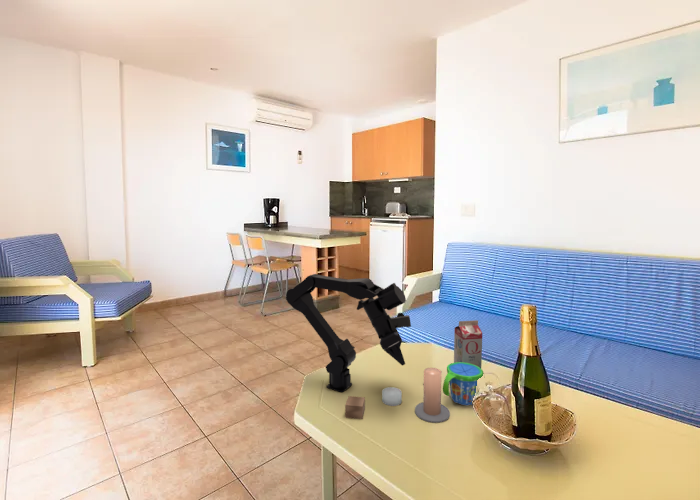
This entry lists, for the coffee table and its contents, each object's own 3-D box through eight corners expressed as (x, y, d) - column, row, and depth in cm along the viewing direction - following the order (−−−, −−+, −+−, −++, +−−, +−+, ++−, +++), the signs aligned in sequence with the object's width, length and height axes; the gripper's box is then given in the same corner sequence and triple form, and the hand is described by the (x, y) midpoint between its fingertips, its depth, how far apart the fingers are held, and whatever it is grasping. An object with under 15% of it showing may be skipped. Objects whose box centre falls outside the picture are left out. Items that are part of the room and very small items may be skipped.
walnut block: (345, 418, 103) (345, 404, 102) (348, 408, 108) (348, 395, 107) (362, 419, 102) (362, 406, 101) (365, 410, 107) (364, 397, 106)
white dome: (378, 402, 111) (378, 393, 110) (387, 394, 116) (387, 385, 115) (396, 408, 108) (396, 398, 107) (404, 399, 113) (404, 390, 112)
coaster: (409, 415, 103) (409, 414, 103) (422, 400, 112) (422, 398, 112) (443, 426, 98) (443, 424, 98) (454, 409, 106) (454, 407, 106)
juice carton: (480, 387, 119) (482, 323, 117) (461, 388, 118) (463, 324, 116) (471, 378, 126) (473, 317, 123) (453, 379, 125) (454, 318, 123)
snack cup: (472, 387, 119) (473, 358, 118) (495, 403, 110) (497, 371, 108) (432, 396, 114) (433, 366, 112) (453, 414, 104) (454, 380, 103)
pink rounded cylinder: (424, 415, 103) (424, 375, 101) (422, 405, 107) (422, 367, 106) (442, 415, 102) (442, 375, 101) (439, 406, 107) (440, 367, 106)
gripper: (403, 305, 103) (430, 354, 101) (398, 302, 121) (421, 344, 119) (369, 323, 103) (395, 373, 101) (369, 318, 121) (392, 360, 119)
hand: (402, 361), depth 110 cm, fingers open, 9 cm apart
